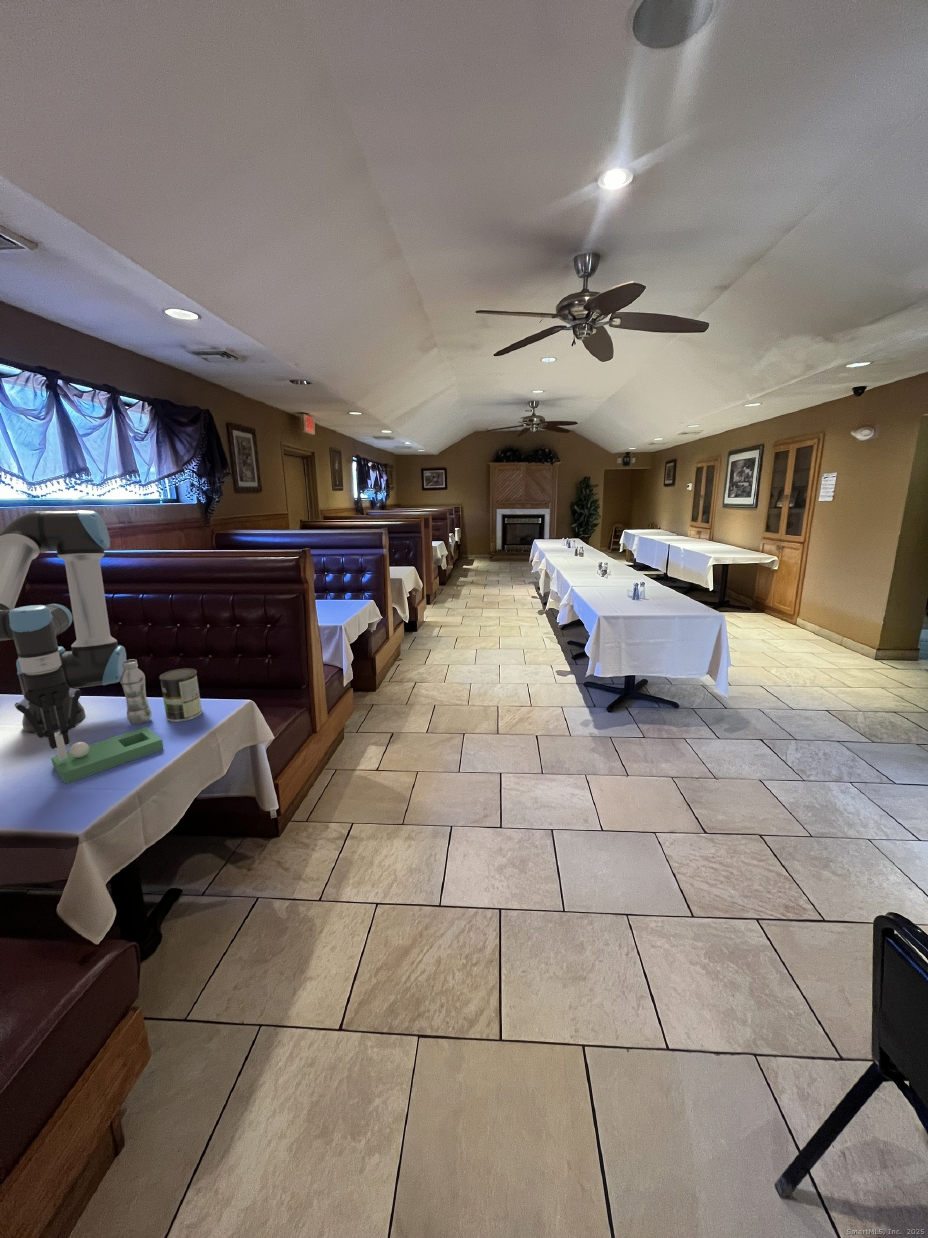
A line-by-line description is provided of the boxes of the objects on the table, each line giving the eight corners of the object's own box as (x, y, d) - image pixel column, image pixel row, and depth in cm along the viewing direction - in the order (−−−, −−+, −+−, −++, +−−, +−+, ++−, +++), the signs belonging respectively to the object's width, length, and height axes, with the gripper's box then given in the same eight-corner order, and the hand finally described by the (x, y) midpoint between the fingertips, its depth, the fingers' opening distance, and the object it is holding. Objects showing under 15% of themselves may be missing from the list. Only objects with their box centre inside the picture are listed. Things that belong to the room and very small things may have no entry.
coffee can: (165, 724, 153) (158, 682, 149) (166, 712, 162) (159, 671, 158) (203, 717, 158) (197, 675, 154) (202, 705, 166) (196, 666, 163)
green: (53, 767, 129) (51, 757, 129) (147, 736, 146) (146, 726, 145) (65, 784, 122) (63, 773, 121) (163, 749, 138) (161, 739, 137)
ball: (69, 757, 128) (66, 743, 127) (88, 751, 131) (85, 737, 130) (73, 762, 126) (70, 748, 125) (92, 756, 129) (89, 742, 128)
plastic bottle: (127, 729, 150) (115, 666, 145) (129, 720, 156) (117, 660, 151) (152, 724, 153) (141, 662, 148) (153, 715, 159) (142, 656, 154)
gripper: (9, 681, 113) (32, 773, 118) (79, 666, 122) (97, 752, 128) (4, 673, 117) (26, 763, 123) (71, 659, 127) (89, 743, 133)
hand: (62, 757), depth 126 cm, fingers closed
